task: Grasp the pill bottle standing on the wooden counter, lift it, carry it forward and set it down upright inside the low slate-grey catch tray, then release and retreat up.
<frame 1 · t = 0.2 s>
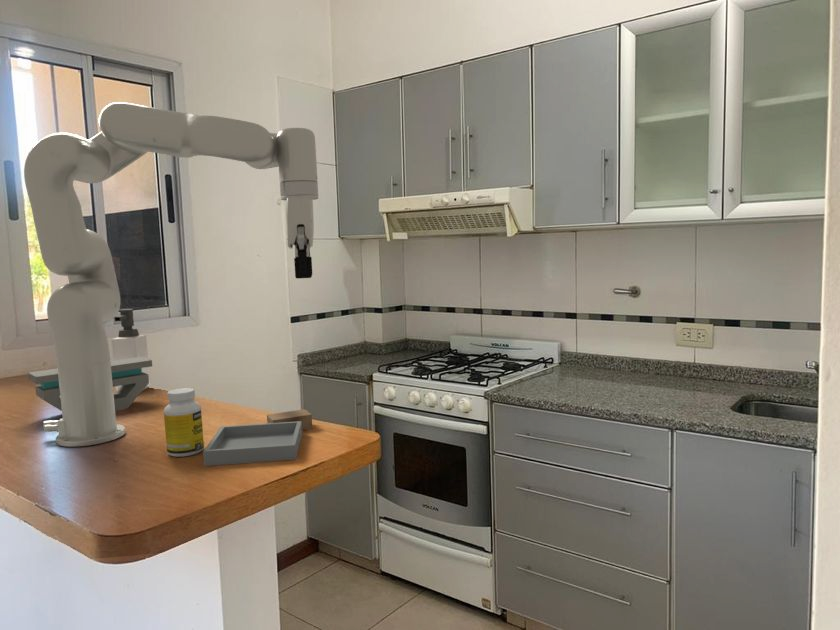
hand: (304, 276, 132), 31 cm above the table, fingers open, 9 cm apart
catch tray: (256, 448, 120), on the table
walnut block: (289, 428, 132), on the table
pill bottle: (186, 453, 119), on the table
soap dispenser: (131, 390, 176), on the table
sharpening stone: (96, 411, 154), on the table
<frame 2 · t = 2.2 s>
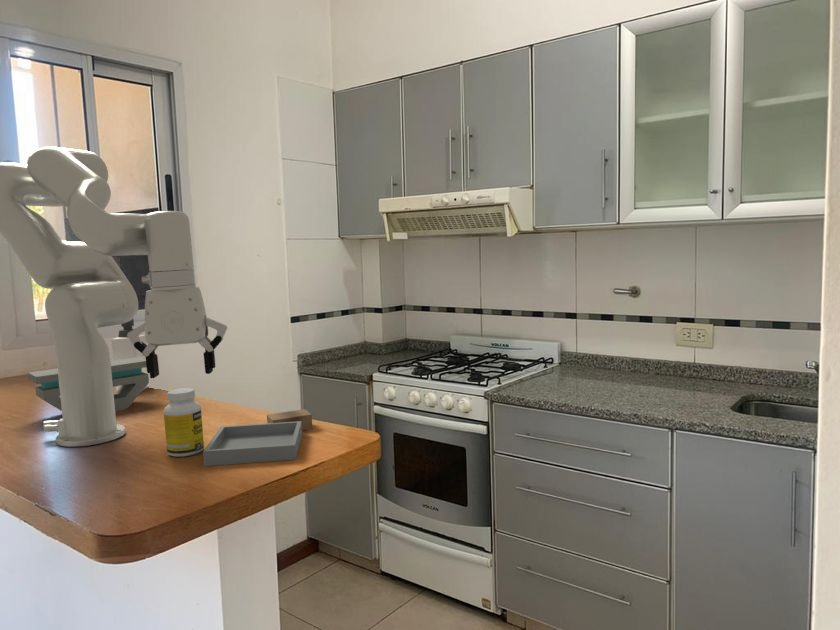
hand: (182, 374, 117), 15 cm above the table, fingers open, 9 cm apart
nothing on the table moved.
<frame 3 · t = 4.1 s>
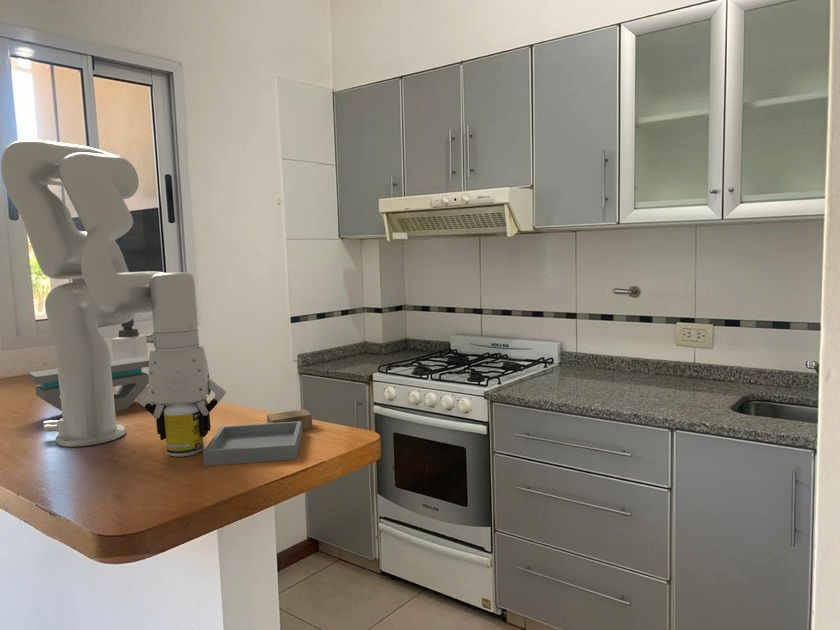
hand: (184, 435, 119), 3 cm above the table, fingers closed on pill bottle, 6 cm apart
pill bottle: (185, 453, 119), on the table, touching gripper
everything else where it was.
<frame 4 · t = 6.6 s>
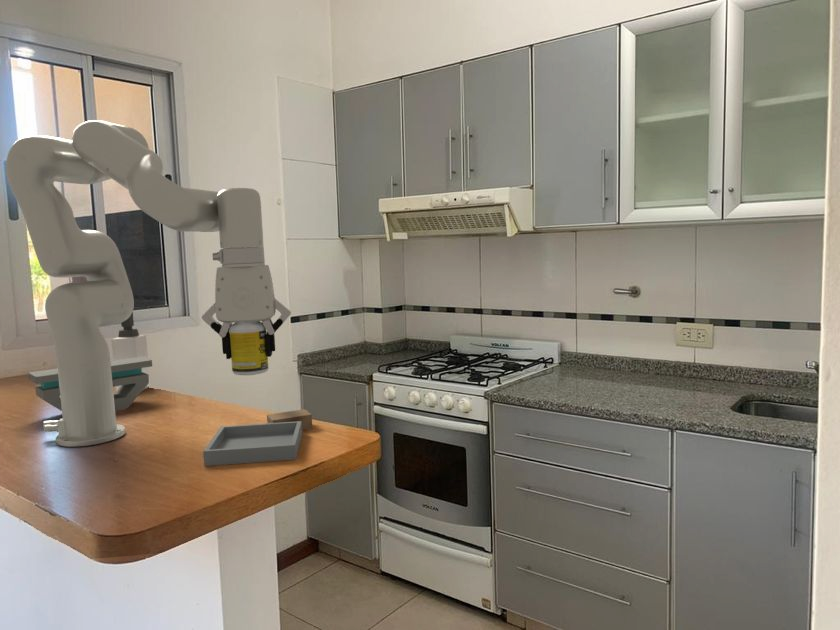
hand: (249, 355, 118), 18 cm above the table, fingers closed on pill bottle, 6 cm apart
pill bottle: (250, 373, 118), point 14 cm above the table, touching gripper
everything else where it was.
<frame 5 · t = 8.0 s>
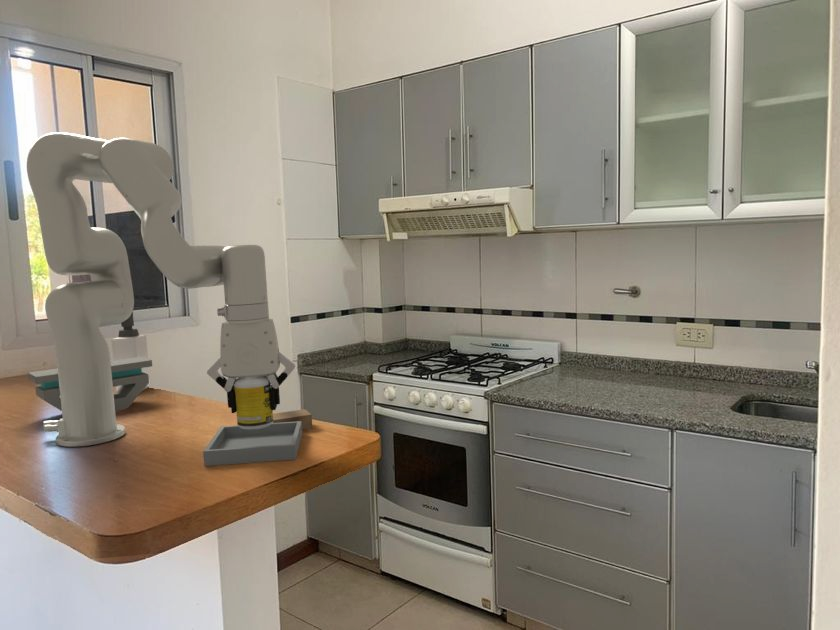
hand: (254, 409, 119), 8 cm above the table, fingers closed on pill bottle, 6 cm apart
pill bottle: (255, 426, 119), point 4 cm above the table, touching gripper
everything else where it was.
when the fingers open (5 cm above the table, at t = 9.3 s): pill bottle drops 2 cm, resting on catch tray.
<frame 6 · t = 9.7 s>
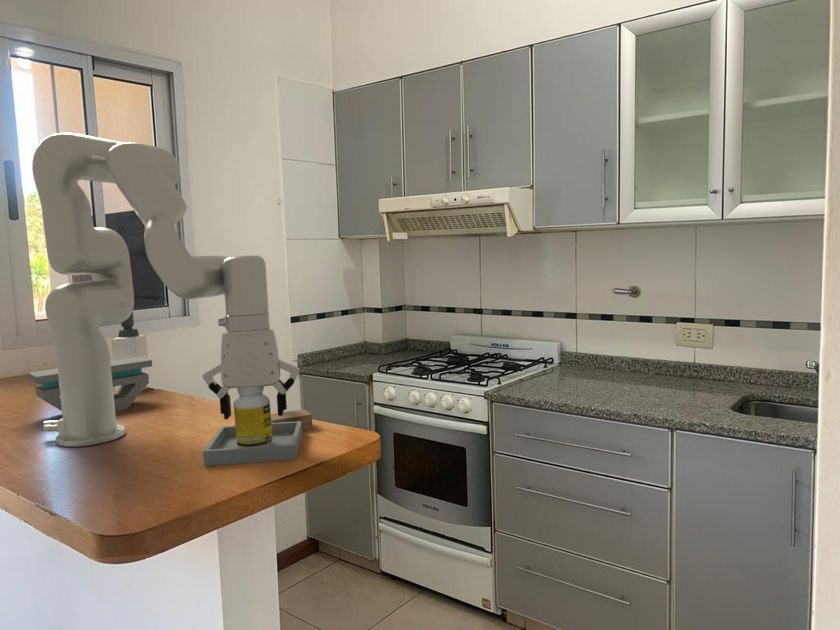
hand: (254, 415, 119), 6 cm above the table, fingers open, 9 cm apart
pill bottle: (255, 446, 120), resting on catch tray
everything else where it was.
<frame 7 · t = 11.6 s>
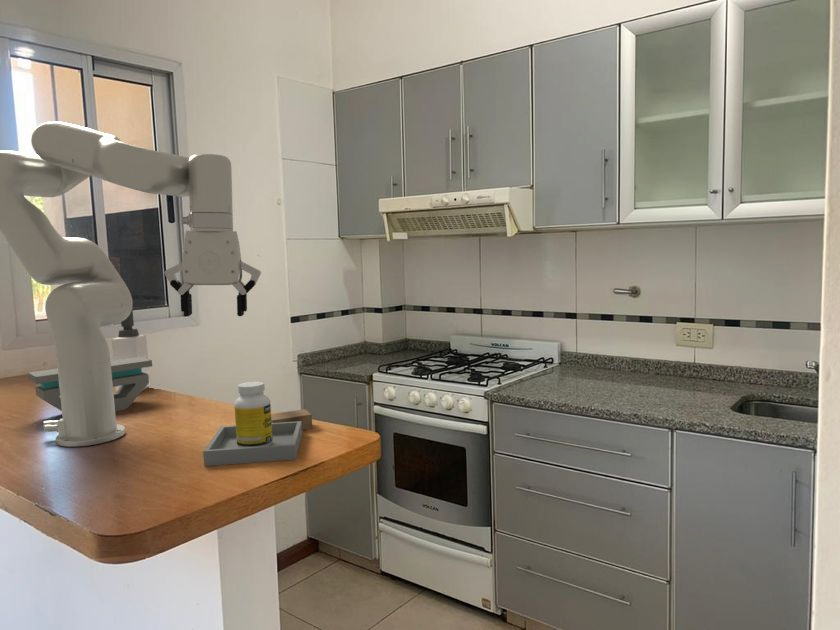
hand: (214, 315, 121), 25 cm above the table, fingers open, 9 cm apart
nothing on the table moved.
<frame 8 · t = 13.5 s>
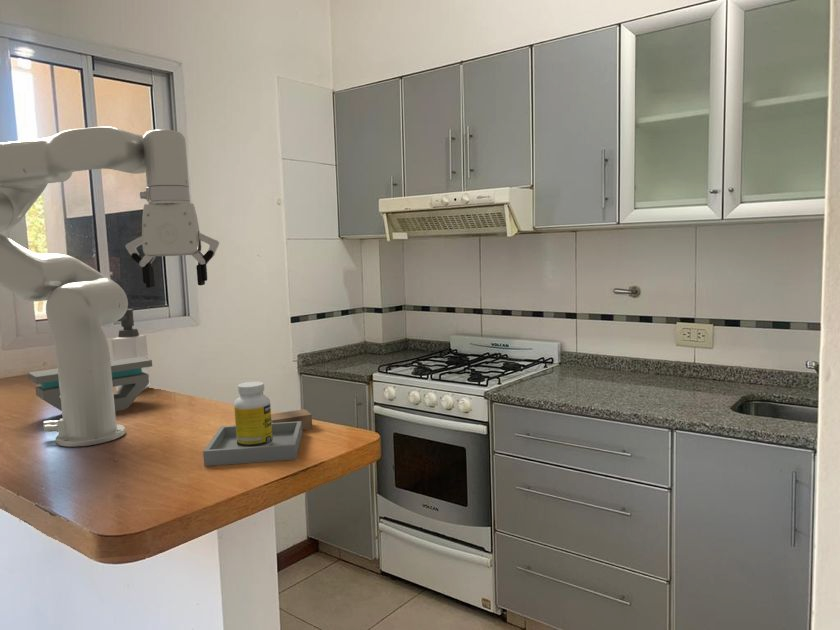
hand: (176, 286, 126), 30 cm above the table, fingers open, 9 cm apart
nothing on the table moved.
at the end: pill bottle inside the target area on the catch tray (0.3 cm from its centre), point 0.4 cm above the catch tray's base; the gripper is holding nothing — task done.
